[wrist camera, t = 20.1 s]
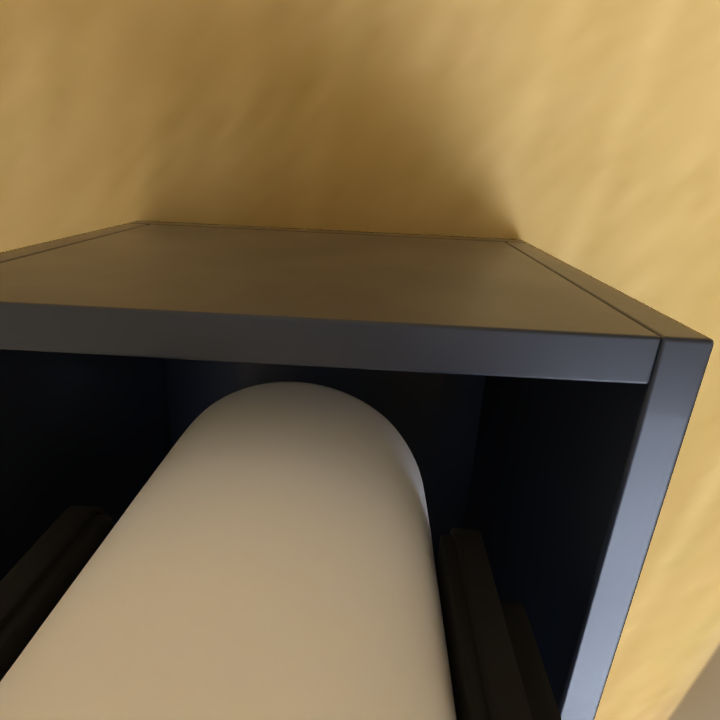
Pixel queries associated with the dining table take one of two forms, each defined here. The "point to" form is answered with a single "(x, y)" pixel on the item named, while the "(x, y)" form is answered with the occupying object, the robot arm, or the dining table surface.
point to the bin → (364, 392)
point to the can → (255, 580)
